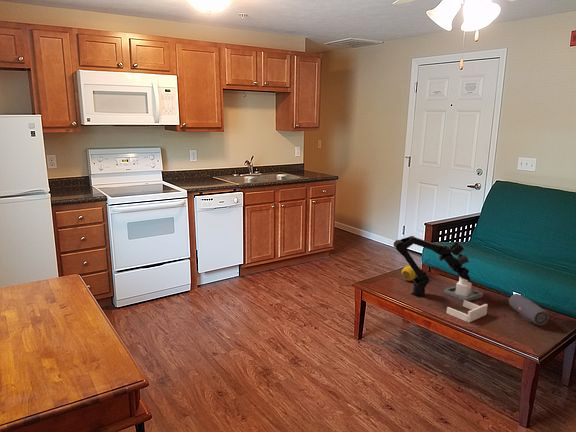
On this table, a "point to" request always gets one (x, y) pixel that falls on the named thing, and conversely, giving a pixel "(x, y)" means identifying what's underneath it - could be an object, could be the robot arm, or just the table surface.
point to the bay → (472, 314)
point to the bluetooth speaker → (528, 309)
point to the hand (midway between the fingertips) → (466, 277)
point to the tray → (470, 297)
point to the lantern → (409, 273)
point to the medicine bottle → (463, 287)
